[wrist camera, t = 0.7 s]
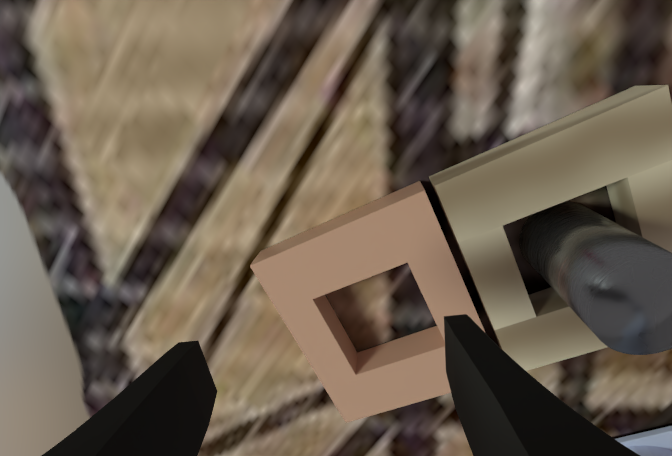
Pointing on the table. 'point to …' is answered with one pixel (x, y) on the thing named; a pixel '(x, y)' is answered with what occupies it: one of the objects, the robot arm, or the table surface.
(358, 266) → the socket block
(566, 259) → the pin
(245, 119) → the table surface
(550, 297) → the pin mount
